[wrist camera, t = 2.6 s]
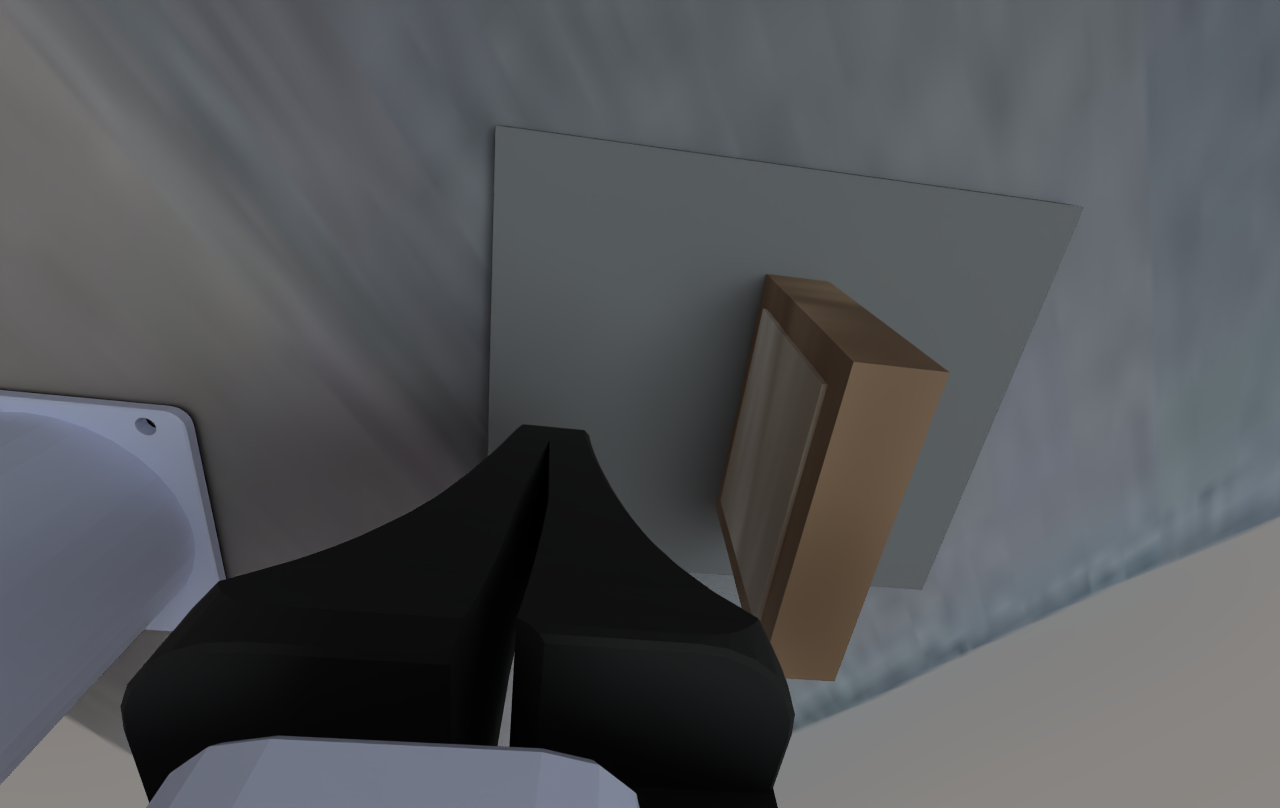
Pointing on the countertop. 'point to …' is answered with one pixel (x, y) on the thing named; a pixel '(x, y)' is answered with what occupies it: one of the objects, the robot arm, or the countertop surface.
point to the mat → (741, 313)
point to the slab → (819, 465)
